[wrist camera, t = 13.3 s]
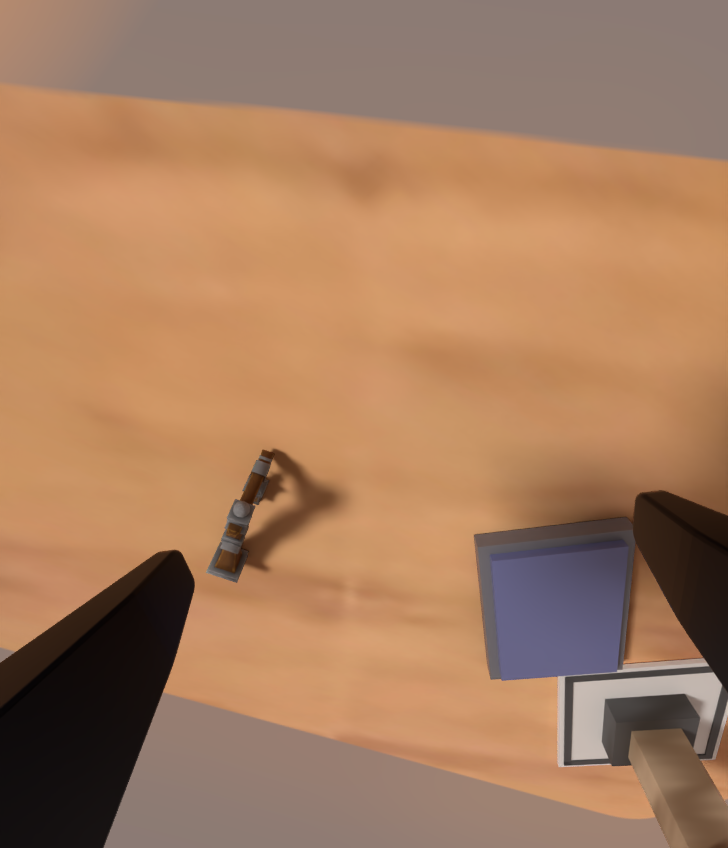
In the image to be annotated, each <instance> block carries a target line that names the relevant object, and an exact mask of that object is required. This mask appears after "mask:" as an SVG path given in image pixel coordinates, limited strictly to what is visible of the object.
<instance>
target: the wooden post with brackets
mask: <svg viewBox="0 0 728 848" xmlns="http://www.w3.org/2000/svg"><path fill="white" fill-rule="evenodd" d="M273 457H274V453H271V452H269V451H266V450H262V453H261V455H260V456H259V459H258V460H256V463H255V465H254V467H253V469H252V471H251V474H250V476H249V478H248V480H247V482H246V484H245V486H244V488H243V491H244V493H243V495H242V497H241V499H240V501H239V500H237V499H235V501H234V503H233V505H232V508H231V510H230V512H229V514H228V516H227V524H226V526H225V529H226V530H225V532H224V534H223V536H222V540H221V541H222V542H220V544H219V546H218V548H217V550H216V552H215V554H214V557H213V559H212V561H211V563H210V565H209V567H208V569H207V572H206V573H209V574H212V575H215V576H218V577H221V578H224V579H227V580H230V581H233V582H236V583H237V581H238V579H239V576H240V574H241V571H242V569H243V566H244V564H245V562H246V559H247V557H248V552H249V551H246V550H243V549H241V546H242V543H243V541H244V539H245V535H246V533H247V530H248V528H249V526H248V525H249V522H250V520H251V517H252V514H253V511H254V509H255V506H254V505H253V503H254V504H256V505H259V502H260V500H261V498H262V496H263V494H264V492H265V489H266V487H267V485H268V482H269V480H266V476H267V474H268V472H269V469H270V465H271V462H272V460H273Z"/></svg>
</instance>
